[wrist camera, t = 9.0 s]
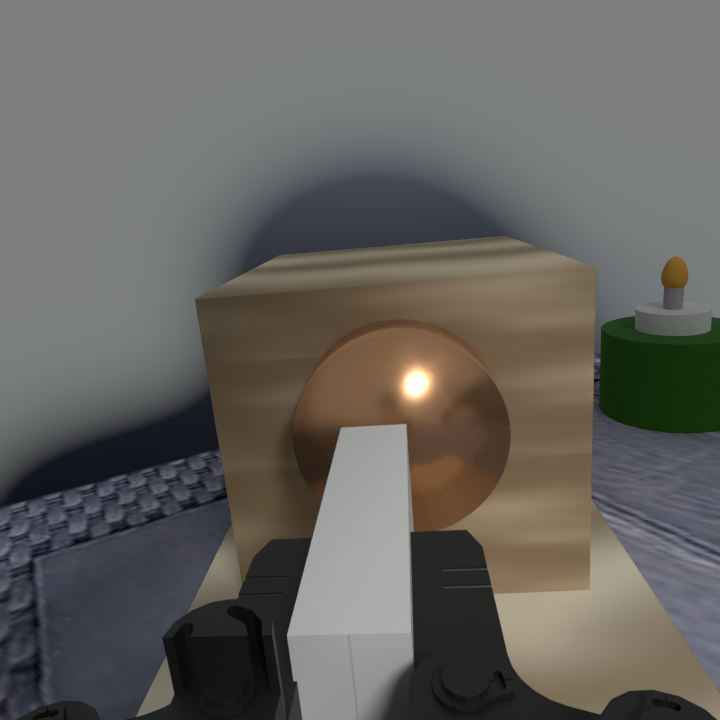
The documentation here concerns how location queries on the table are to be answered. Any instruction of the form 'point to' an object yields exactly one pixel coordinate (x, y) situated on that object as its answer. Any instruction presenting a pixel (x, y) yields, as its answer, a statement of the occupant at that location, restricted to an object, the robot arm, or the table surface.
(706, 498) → the table surface
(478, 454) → the door knob
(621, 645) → the press block
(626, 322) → the candle
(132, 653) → the table surface
